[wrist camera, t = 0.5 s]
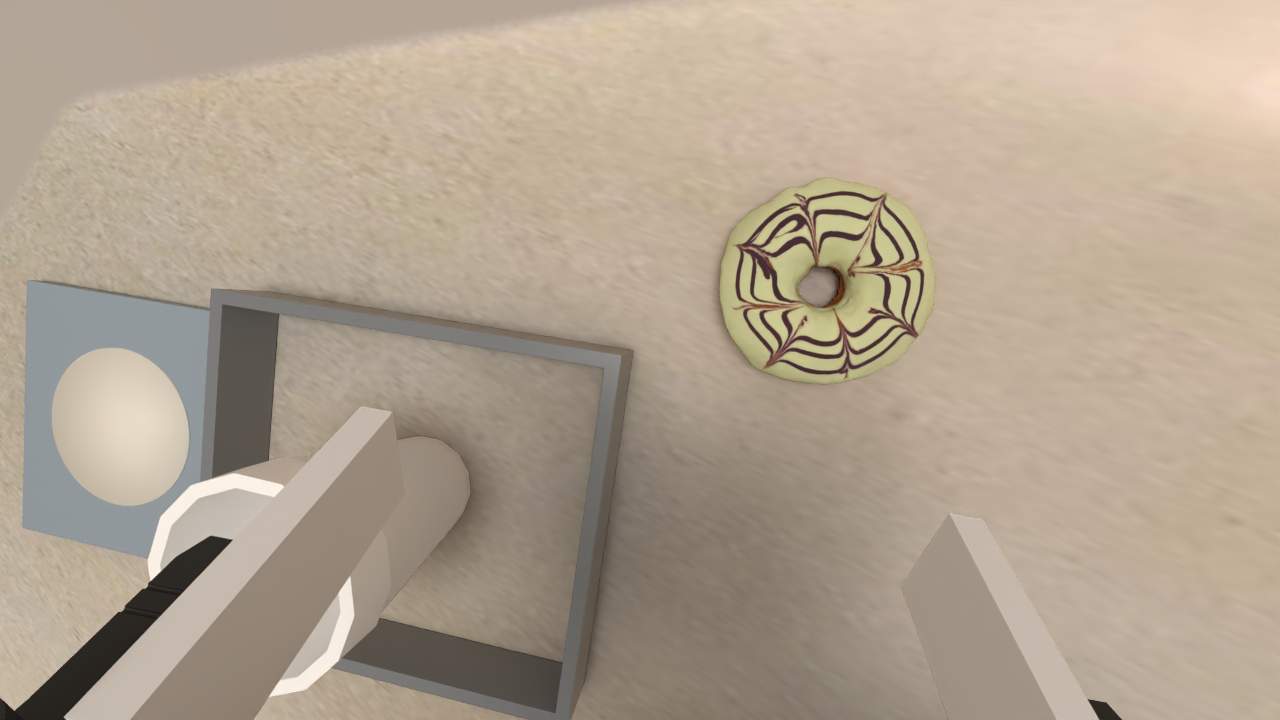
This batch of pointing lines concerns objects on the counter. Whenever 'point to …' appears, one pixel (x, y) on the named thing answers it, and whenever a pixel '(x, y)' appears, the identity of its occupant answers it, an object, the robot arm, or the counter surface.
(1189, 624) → the counter surface
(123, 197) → the counter surface
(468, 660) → the low pen
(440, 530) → the foam cup
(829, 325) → the decorated donut
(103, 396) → the board
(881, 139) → the counter surface
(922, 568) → the robot arm
